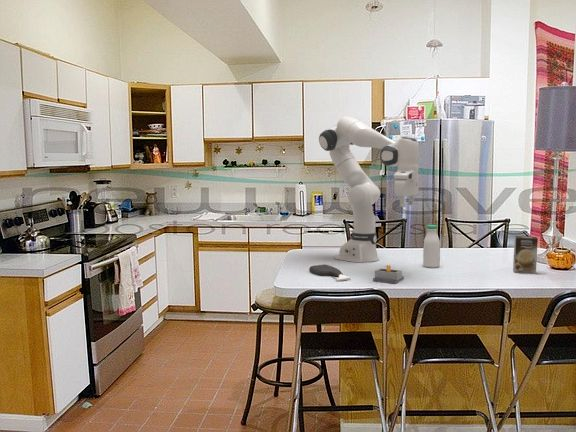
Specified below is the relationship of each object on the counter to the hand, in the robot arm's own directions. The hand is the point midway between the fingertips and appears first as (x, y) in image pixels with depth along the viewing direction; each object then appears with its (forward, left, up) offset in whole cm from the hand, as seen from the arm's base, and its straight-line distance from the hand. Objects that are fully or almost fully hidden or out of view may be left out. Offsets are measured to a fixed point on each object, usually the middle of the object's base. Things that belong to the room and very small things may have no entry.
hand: (406, 206), depth 227 cm
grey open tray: (-3, -13, -30) cm, 33 cm away
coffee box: (+44, +32, -31) cm, 63 cm away
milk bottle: (+4, +24, -31) cm, 39 cm away
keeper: (-3, -13, -31) cm, 34 cm away
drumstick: (-29, -17, -32) cm, 46 cm away
